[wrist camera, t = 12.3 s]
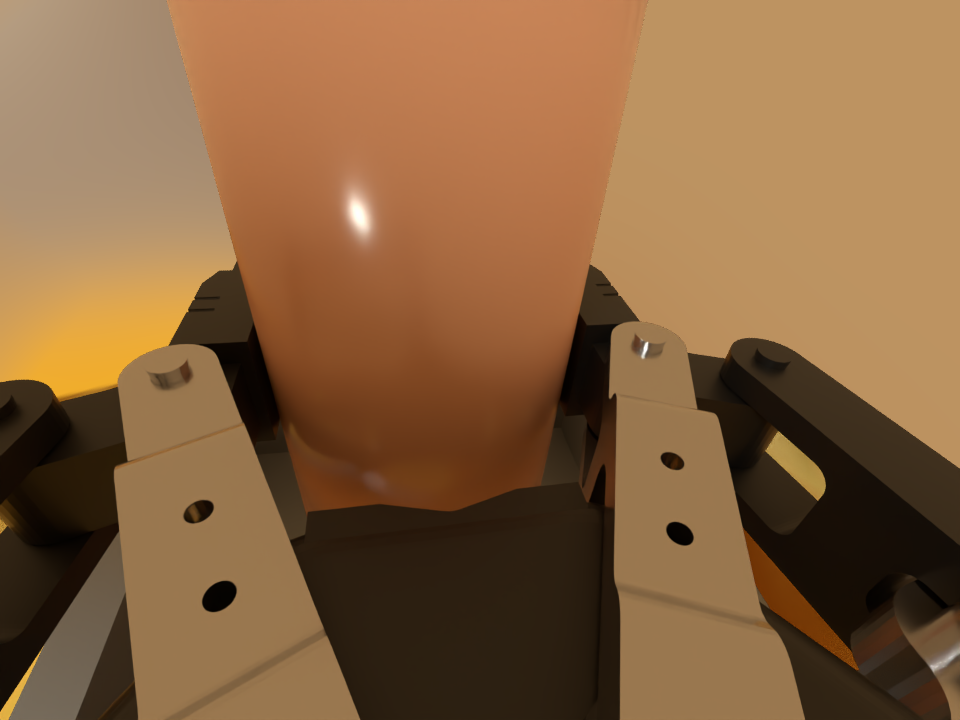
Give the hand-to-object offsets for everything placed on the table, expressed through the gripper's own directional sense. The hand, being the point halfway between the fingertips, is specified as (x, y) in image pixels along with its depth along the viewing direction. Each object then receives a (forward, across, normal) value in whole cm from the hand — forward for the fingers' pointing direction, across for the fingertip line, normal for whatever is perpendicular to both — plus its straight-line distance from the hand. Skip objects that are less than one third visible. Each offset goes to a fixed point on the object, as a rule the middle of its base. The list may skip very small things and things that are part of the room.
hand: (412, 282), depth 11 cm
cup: (-3, 0, +9) cm, 9 cm away
